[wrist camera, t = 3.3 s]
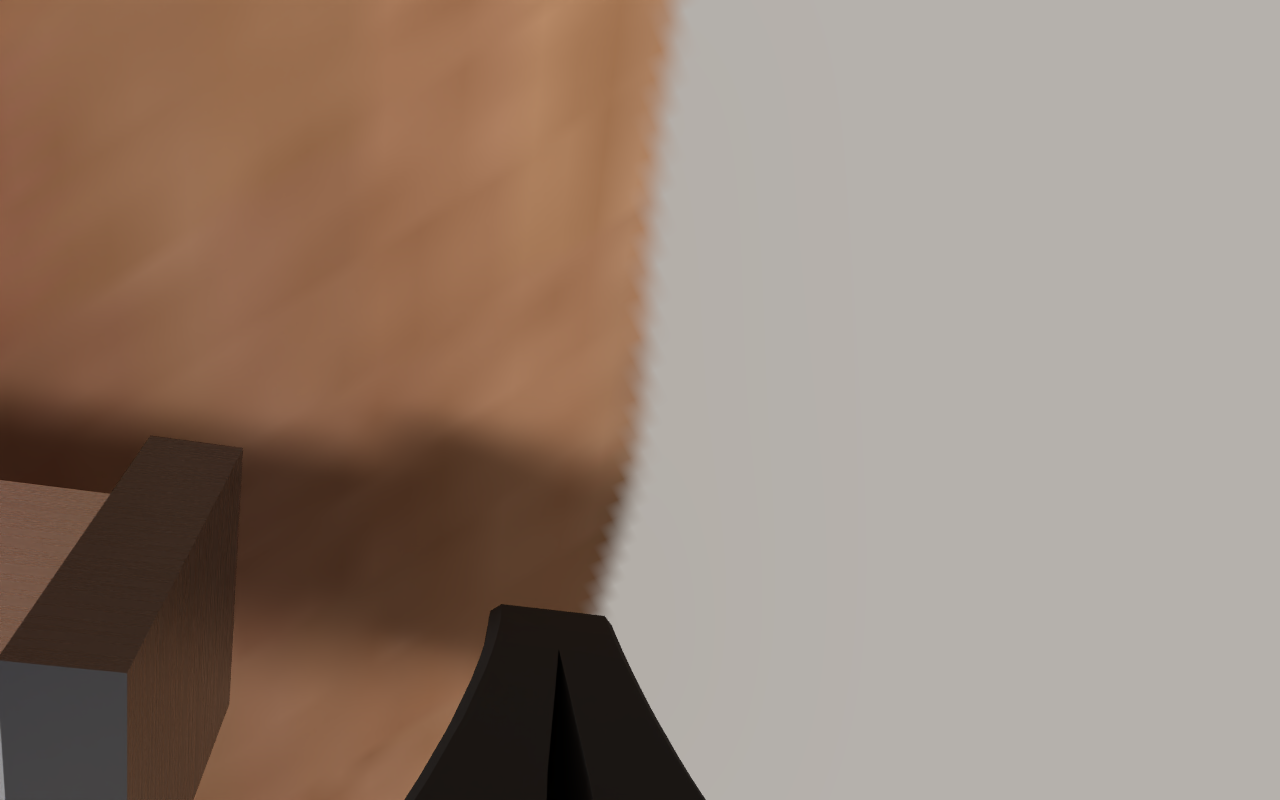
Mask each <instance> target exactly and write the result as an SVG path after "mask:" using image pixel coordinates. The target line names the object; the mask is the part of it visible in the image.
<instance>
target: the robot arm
mask: <svg viewBox="0 0 1280 800" xmlns="http://www.w3.org/2000/svg"><path fill="white" fill-rule="evenodd" d="M405 800H705V798H704V796H703V795H702V794H701V792H700V791H699V789H698V787H697V786H696V784H695V783H694V781H693V780H692V778H691V777H690V775H689V773H688V772H687V770H686V768H685V767H684V765H683V764H682V762H681V760H680V759H679V757H678V755H677V754H676V752H675V750H674V748H673V747H672V745H671V743H670V742H669V740H668V738H667V736H666V734H665V733H664V731H663V729H662V727H661V726H660V724H659V722H658V720H657V719H656V717H655V715H654V713H653V711H652V710H651V708H650V706H649V704H648V702H647V700H646V698H645V696H644V694H643V692H642V690H641V689H640V686H639V684H638V682H637V680H636V678H635V676H634V674H633V672H632V670H631V668H630V666H629V664H628V662H627V659H626V657H625V655H624V653H623V651H622V649H621V646H620V644H619V642H618V639H617V637H616V635H615V632H614V630H613V627H612V625H611V624H610V623H609V621H608V620H607V619H606V617H605V616H599V615H590V614H582V613H573V612H564V611H556V610H547V609H538V608H530V607H521V606H513V605H504V604H501V605H500V606H498V607H496V608H495V609H493V610H491V611H490V616H489V621H488V627H487V632H486V638H485V643H484V647H483V650H482V653H481V656H480V659H479V661H478V664H477V666H476V669H475V671H474V674H473V676H472V679H471V681H470V683H469V685H468V687H467V690H466V692H465V694H464V696H463V698H462V700H461V702H460V704H459V706H458V708H457V710H456V712H455V714H454V717H453V719H452V721H451V723H450V724H449V726H448V728H447V730H446V732H445V734H444V735H443V737H442V739H441V741H440V742H439V744H438V746H437V747H436V749H435V751H434V752H433V754H432V756H431V758H430V759H429V761H428V763H427V764H426V766H425V768H424V770H423V771H422V773H421V775H420V776H419V778H418V780H417V781H416V783H415V784H414V786H413V787H412V789H411V790H410V792H409V793H408V795H407V797H406V798H405Z"/></svg>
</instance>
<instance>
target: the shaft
mask: <svg viewBox="0 0 1280 800" xmlns="http://www.w3.org/2000/svg"><path fill="white" fill-rule="evenodd" d="M242 455H243V448H238V447H231V446H223V445H216V444H208V443H201V442H193V441H186V440H178V439H171V438H164V437H156V436H150V437H149V438H148V440H147V441H146V443H145V444H144V446H143V447H142V449H141V450H140V452H139V453H138V454H137V456H136V457H135V459H134V460H133V462H132V463H131V465H130V466H129V468H128V469H127V470H126V472H125V473H124V475H123V476H122V478H121V479H120V481H119V482H118V484H117V485H116V486H115V488H114V489H113V491H112V492H111V494H108V493H100V492H92V491H84V490H76V489H68V488H60V487H52V486H44V485H36V484H28V483H20V482H12V481H4V480H0V800H193V799H194V797H195V794H196V791H197V789H198V786H199V783H200V781H201V778H202V775H203V773H204V770H205V767H206V765H207V762H208V759H209V757H210V754H211V751H212V749H213V746H214V743H215V741H216V738H217V735H218V732H219V730H220V727H221V724H222V722H223V719H224V716H225V714H226V711H227V708H228V706H229V699H230V680H231V662H232V643H233V624H234V605H235V586H236V568H237V549H238V530H239V511H240V492H241V474H242Z"/></svg>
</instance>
